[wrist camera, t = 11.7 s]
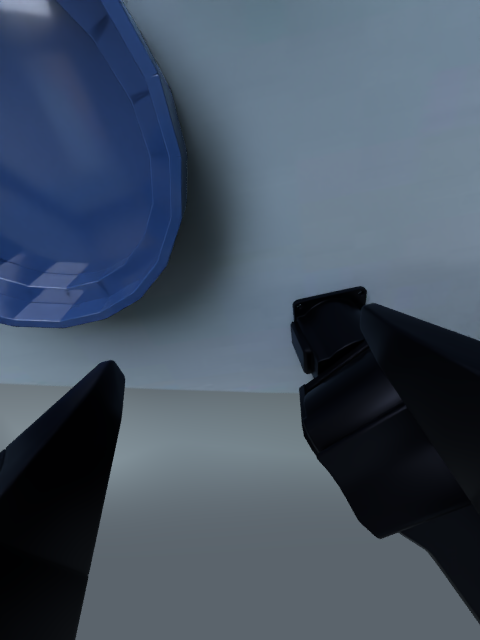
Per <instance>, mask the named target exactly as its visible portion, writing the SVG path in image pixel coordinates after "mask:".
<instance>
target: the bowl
mask: <svg viewBox="0 0 480 640" xmlns="http://www.w3.org/2000/svg"><path fill="white" fill-rule="evenodd" d="M186 152H187V149H186V146H185V142H184V138H183V134H182V130H181V126H180V123H179V119H178V115H177V111H176V107H175V104H174V100H173V96H172V92H171V90H170V87H169V85H168V83H167V81H166V79H165V78H164V76H163V74H162V72H161V70H160V68H159V66H158V64H157V63H156V61H155V59H154V57H153V55H152V53H151V51H150V49H149V48H148V46H147V44H146V42H145V40H144V38H143V36H142V34H141V33H140V31H139V29H138V27H137V25H136V23H135V21H134V19H133V18H132V16H131V15H130V13H129V11H128V10H127V8H126V6H125V5H124V3H123V2H122V0H0V323H1V324H5V325H10V326H16V327H42V328H67V327H72V326H76V325H81V324H85V323H90V322H94V321H99V320H103V319H107V318H109V317H110V316H112V315H114V314H115V313H117V312H119V311H121V310H122V309H124V308H126V307H127V306H129V305H131V304H132V303H134V302H136V301H138V300H139V299H140V298H142V296H143V295H144V294H145V293H146V292H147V290H148V289H149V288H150V287H151V285H152V284H153V283H154V282H155V280H156V279H157V278H158V277H159V275H160V274H161V273H162V272H163V270H164V269H165V268H166V266H167V265H168V262H169V259H170V256H171V252H172V249H173V246H174V243H175V240H176V237H177V234H178V231H179V228H180V225H181V222H182V219H183V215H184V212H185V209H186V206H187V153H186Z"/></svg>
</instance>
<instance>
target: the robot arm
mask: <svg viewBox="0 0 480 640" xmlns="http://www.w3.org/2000/svg"><path fill="white" fill-rule="evenodd" d="M360 291H361V293H359V292H360ZM358 293H359V294H358ZM366 294H367V290H366V289H365V288H364V287H362V286H359V287H354V288H350V289H345V290H341V291H336V292H331V293H327V294H322V295H318V296H313V297H309V298H304V299H299V300H296V301H295V302H294V303H293V315H294V322H292V323H291V335H292V344H293V346H294V349H295V351H296V354H297V356H298V358H299V361H300V363H301V366H302V368H303V371H304V372H305V373H306V374H310V373H312V375H313V377H314V379H313V380H311V381H310V382H309V383H307V384H306V385H305V384H304V385H303V386H301V387H300V388H299V393H300V406H301V419H302V428H303V433H304V437H305V439H306V440H307V442H308V444H309V445H310V447H311V449H312V451H313V452H314V453H315V455H316V456H317V459H318V460H319V461H320V463H321V464H322V465H323V466H324V467H325V468H326V469H327V470H328V472H329V473H330V474H331V476H332V477H333V478H334V480H335V481H336V483H337V484H338V485H339V487H340V489H341V490H342V492H343V494H344V496H345V497H346V499H347V501H348V503H349V504H350V506H351V508H352V510H353V511H354V513H355V515H356V517H357V519H358V520H359V522H360V523H361V524H362V525H363V526H365V527H366V528H367V529H368V530H369V531H370V532H371V533H372V534H373V535H374V536H376V537H377V538H380V539H382V538H384V537H387V536H390V535H393V534H395V533H400V534H401V535H403V536H404V537H406V538H408V539H409V540H411V541H412V542H414V543H415V544H417V545H418V546H420V547H422V548H423V549H425V550H426V551H427V552H428V553H429V554H430V556H431V557H432V558H433V560H434V561H435V562H436V563H437V565H438V566H439V568H440V569H441V571H442V572H443V573H444V574H445V576H446V578H447V579H448V580H449V582H450V583H451V585H452V586H453V587H454V589H455V590H456V592H457V593H458V594H459V596H460V597H461V599H462V600H463V601H464V603H465V604H466V605H467V607H468V608H469V610H470V611H471V613H472V614H473V616H474V617H475V618H476V620H477V621H478V623H479V624H480V341H478V340H476V339H473V338H470V337H467V336H465V335H462V334H459V333H456V332H454V331H451V330H448V329H445V328H442V327H440V326H437V325H434V324H431V323H429V322H426V321H423V320H420V319H418V318H415V317H412V316H409V315H406V314H404V313H401V312H398V311H395V310H393V309H390V308H387V307H384V306H382V305H379V304H376V303H372V304H368V305H365V302H366ZM299 304H301V305H300V306H299V307H297V306H298V305H299ZM124 389H125V377H124V374H123V373H122V371H121V370H120V368H119V367H118V366H117V364H116V363H115V362H114V361H113V360H109V361H105V362H101V363H100V364H98V365H97V366H96V367H95V368H94V369H93V370H92V371H91V372H89V373H88V374H87V375H86V376H85V377H84V378H83V379H82V380H81V381H79V382H78V383H77V384H76V385H75V386H74V387H73V388H72V389H71V390H69V392H67V393H66V394H65V395H64V396H63V397H62V398H61V399H60V400H58V401H57V402H56V403H55V404H54V405H53V406H52V407H51V408H49V409H48V410H47V411H46V412H45V413H44V414H43V415H42V416H41V417H39V419H37V420H36V421H35V422H34V423H33V424H32V425H31V426H30V427H28V428H27V429H26V430H25V431H24V432H23V433H22V434H20V435H19V436H18V437H17V438H16V439H15V440H14V441H13V442H12V443H10V444H9V445H8V446H7V447H6V449H4V450H3V451H1V452H0V640H75V638H76V633H77V628H78V624H79V619H80V614H81V609H82V604H83V600H84V595H85V591H86V586H87V581H88V574H89V570H90V566H91V561H92V556H93V552H94V547H95V542H96V537H97V533H98V528H99V523H100V519H101V514H102V509H103V504H104V500H105V495H106V490H107V486H108V481H109V476H110V471H111V467H112V462H113V457H114V452H115V448H116V443H117V438H118V434H119V429H120V424H121V418H122V409H123V399H124Z"/></svg>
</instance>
